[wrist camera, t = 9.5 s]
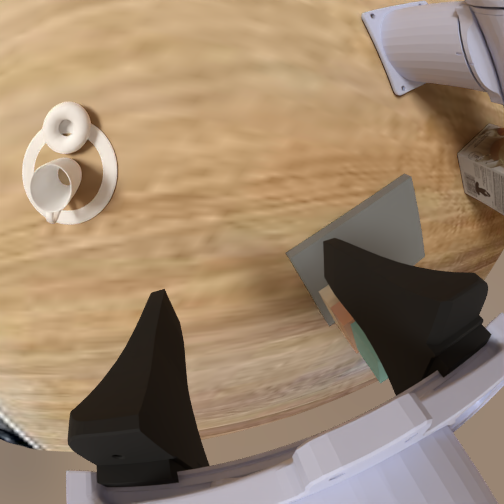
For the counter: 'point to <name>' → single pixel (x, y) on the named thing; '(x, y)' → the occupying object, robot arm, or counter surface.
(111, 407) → the robot arm
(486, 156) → the coffee box
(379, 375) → the teal block
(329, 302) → the maple slab
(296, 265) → the slate board
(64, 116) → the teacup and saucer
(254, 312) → the counter surface
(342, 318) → the terracotta slab
